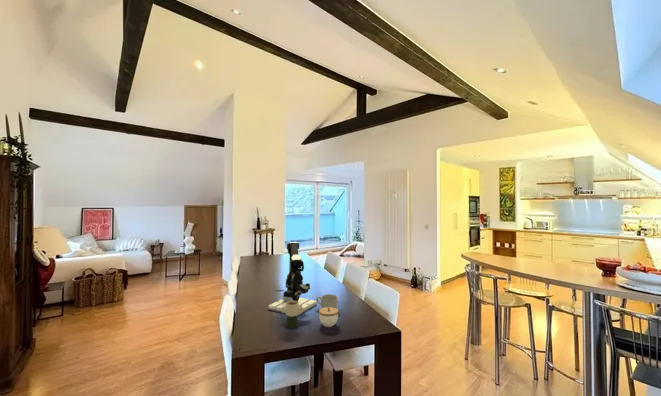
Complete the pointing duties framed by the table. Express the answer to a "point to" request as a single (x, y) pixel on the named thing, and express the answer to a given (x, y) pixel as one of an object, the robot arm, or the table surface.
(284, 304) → the console
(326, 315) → the lidded jar
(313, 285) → the table surface
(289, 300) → the block
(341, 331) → the table surface
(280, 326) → the table surface
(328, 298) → the teacup
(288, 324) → the character mug
